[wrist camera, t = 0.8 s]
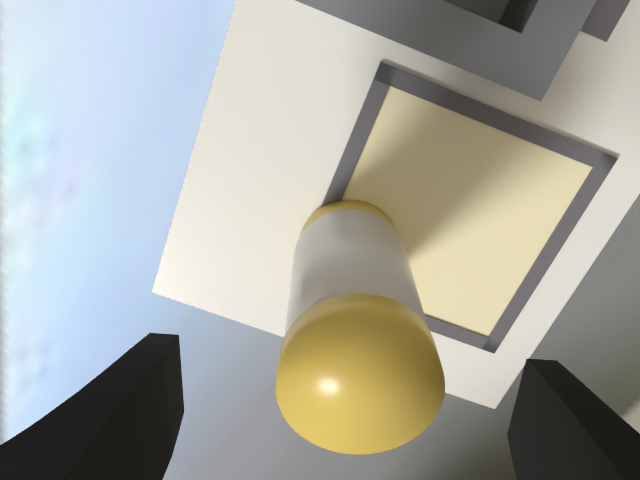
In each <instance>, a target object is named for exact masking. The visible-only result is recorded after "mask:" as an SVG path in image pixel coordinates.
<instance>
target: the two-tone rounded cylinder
mask: <svg viewBox="0 0 640 480" xmlns="http://www.w3.org/2000/svg"><path fill="white" fill-rule="evenodd" d="M444 395H445V376H444V372H443V368H442V365H441V361H440V358H439V355H438V351H437V348H436V345H435V341H434V339H433V336H432V334H431V331H430V330H429V328H428V326H427V322H426V319H425V315H424V312H423V308H422V305H421V302H420V298H419V295H418V291H417V288H416V284H415V281H414V278H413V274H412V271H411V267H410V264H409V260H408V257H407V253H406V250H405V247H404V243H403V241H402V238H401V236H400V235H399V233H398V231H397V230H396V228H395V226H394V224H393V222H392V221H391V219H390V218H389V217H388V216H387V215H386V214H385V213H384V212H383V211H382V210H380V209H379V208H378V207H376V206H374V205H372V204H370V203H367V202H364V201H360V200H339V201H335V202H332V203H329V204H327V205H325V206H323V207H321V208H319V209H318V210H317V211H315V212H314V213H313V214H312V215H311V216H310V217H309V218H308V220H307V221H306V223H305V224H304V226H303V228H302V230H301V233H300V237H299V239H298V242H297V244H296V247H295V251H294V259H293V268H292V276H291V284H290V292H289V301H288V309H287V317H286V325H285V334H284V339H283V341H282V345H281V349H280V356H279V364H278V372H277V380H276V397H277V401H278V405H279V408H280V410H281V413H282V414H283V416H284V418H285V419H286V421H287V422H288V423H289V425H290V426H291V427H292V428H293V429H294V430H295V431H296V432H297V433H298V434H299V435H301V436H302V437H303V438H305V439H306V440H308V441H309V442H311V443H313V444H315V445H317V446H319V447H322V448H324V449H327V450H331V451H334V452H339V453H345V454H372V453H379V452H383V451H387V450H390V449H394V448H396V447H399V446H401V445H403V444H405V443H407V442H409V441H411V440H412V439H414V438H415V437H417V436H418V435H419V434H421V433H422V432H423V431H424V430H425V429H426V428H427V427H428V426H429V425H430V424H431V422H432V421H433V420H434V419H435V417H436V415H437V414H438V412H439V410H440V408H441V405H442V403H443V399H444Z"/></svg>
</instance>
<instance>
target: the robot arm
mask: <svg viewBox="0 0 640 480" xmlns="http://www.w3.org/2000/svg"><path fill="white" fill-rule="evenodd" d="M183 414H184V402H183V388H182V374H181V360H180V346H179V335H172V334H157V333H149V334H148V335H147V336H146V337H144V338H143V339H142V340H141V341H139V342H138V343H137V344H136V345H135V346H133V347H132V348H131V349H130V350H128V351H127V352H126V353H125V354H124V355H122V356H121V357H120V358H119V359H118V360H117V361H115V362H114V363H113V364H112V365H110V366H109V367H108V368H107V369H106V370H104V371H103V372H102V373H101V374H100V375H98V376H97V377H96V378H95V379H93V380H92V381H91V382H90V383H88V384H87V385H86V386H85V387H83V388H82V389H81V390H80V391H78V392H77V393H76V394H74V395H73V396H72V397H70V398H69V399H67V400H66V401H65V402H63V403H62V404H61V405H59V406H58V407H56V408H55V409H54V410H52V411H51V412H50V413H48V414H47V415H46V416H44V417H43V418H41V419H40V420H39V421H37V422H36V423H34V424H33V425H31V426H30V427H28V428H27V429H25V430H24V431H22V432H21V433H19V434H18V435H16V436H15V437H13V438H11V439H10V440H8V441H7V442H5V443H3V444H2V445H0V480H162V479H163V477H164V474H165V472H166V469H167V467H168V464H169V462H170V459H171V457H172V454H173V450H174V447H175V443H176V440H177V436H178V433H179V429H180V425H181V421H182V418H183ZM507 435H508V440H509V445H510V450H511V455H512V460H513V464H514V468H515V473H516V477H517V480H640V434H639V433H638V432H637V431H636V430H634V429H633V428H632V427H631V426H630V425H629V424H628V423H627V422H625V421H624V420H623V419H622V418H621V417H620V416H619V415H617V414H616V413H615V412H614V411H613V410H612V409H611V408H610V407H608V406H607V405H606V404H605V403H604V402H603V401H602V400H601V399H599V398H598V397H597V396H596V395H595V394H594V393H593V392H592V391H591V390H590V389H588V388H587V387H586V386H585V385H584V384H583V383H582V382H581V381H580V380H578V379H577V378H576V377H575V376H574V375H573V374H572V373H571V372H569V371H568V370H567V369H566V368H565V367H564V366H562V365H561V364H560V363H559V362H558V361H554V360H540V359H526V362H525V366H524V370H523V374H522V378H521V382H520V386H519V390H518V394H517V398H516V402H515V406H514V410H513V414H512V418H511V422H510V426H509V430H508V434H507Z"/></svg>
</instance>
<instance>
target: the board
mask: <svg viewBox="0 0 640 480" xmlns="http://www.w3.org/2000/svg"><path fill="white" fill-rule="evenodd" d="M443 1H446V2H448V3H451V4H453V5H455V6H458V7H460V8H462V9H465V10H467V11H469V12H472V13H474V14H476V15H479V16H481V17H483V18H486V19H488V20H491V21H493V22H495V23H499V21H500V18H501V16H502V14H503V12H504V10H505V8H506V6H507V4H508V2H509V0H443ZM639 193H640V0H597V1H596V2H595V4H594V6H593V8H592V10H591V12H590V13H589V15H588V17H587V19H586V21H585V23H584V24H583V26H582V28H581V30H580V32H579V34H578V35H577V37H576V39H575V41H574V43H573V44H572V46H571V48H570V50H569V52H568V54H567V55H566V57H565V59H564V61H563V63H562V65H561V66H560V68H559V70H558V72H557V74H556V76H555V77H554V79H553V81H552V83H551V85H550V87H549V88H548V90H547V92H546V94H545V96H544V98H543V99H542V101H538V100H536V99H533V98H531V97H529V96H526V95H524V94H521V93H519V92H516V91H514V90H512V89H509V88H507V87H504V86H502V85H499V84H497V83H495V82H492V81H490V80H487V79H485V78H482V77H480V76H478V75H475V74H473V73H470V72H468V71H465V70H463V69H461V68H458V67H456V66H453V65H451V64H448V63H446V62H444V61H441V60H439V59H436V58H434V57H431V56H429V55H427V54H424V53H422V52H419V51H417V50H414V49H412V48H410V47H407V46H405V45H402V44H400V43H397V42H395V41H393V40H390V39H388V38H385V37H383V36H380V35H378V34H376V33H373V32H371V31H368V30H366V29H363V28H361V27H359V26H356V25H354V24H351V23H349V22H346V21H344V20H342V19H339V18H337V17H334V16H332V15H329V14H327V13H325V12H322V11H320V10H317V9H315V8H312V7H310V6H308V5H305V4H303V3H300V2H298V1H295V0H236V3H235V6H234V10H233V13H232V16H231V20H230V23H229V27H228V30H227V34H226V37H225V41H224V44H223V48H222V51H221V55H220V58H219V61H218V65H217V68H216V72H215V75H214V79H213V82H212V86H211V89H210V93H209V96H208V100H207V103H206V106H205V110H204V113H203V117H202V120H201V124H200V127H199V131H198V134H197V138H196V141H195V144H194V148H193V151H192V155H191V158H190V162H189V165H188V169H187V172H186V176H185V179H184V183H183V186H182V189H181V193H180V196H179V200H178V203H177V207H176V210H175V214H174V217H173V221H172V224H171V228H170V231H169V234H168V238H167V241H166V245H165V248H164V252H163V255H162V259H161V262H160V266H159V269H158V272H157V276H156V279H155V283H154V286H153V290H152V292H153V293H156V294H159V295H162V296H165V297H168V298H171V299H174V300H177V301H179V302H182V303H185V304H188V305H191V306H194V307H197V308H200V309H203V310H206V311H209V312H212V313H215V314H218V315H220V316H223V317H226V318H229V319H232V320H235V321H238V322H241V323H244V324H247V325H250V326H253V327H256V328H259V329H261V330H264V331H267V332H270V333H273V334H276V335H279V336H282V337H284V334H285V325H286V317H287V309H288V301H289V292H290V284H291V276H292V268H293V259H294V251H295V247H296V244H297V242H298V239H299V237H300V233H301V230H302V228H303V226H304V224H305V223H306V221H307V220H308V218H309V217H310V216H311V215H312V214H313V213H314V212H315V211H317V210H318V209H319V208H321V207H323V206H325V205H327V204H329V203H332V202H335V201H339V200H360V201H364V202H367V203H370V204H372V205H374V206H376V207H378V208H379V209H380V210H382V211H383V212H384V213H385V214H386V215H387V216H388V217H389V218H390V219H391V221H392V222H393V224H394V226H395V228H396V230H397V231H398V233H399V235H400V236H401V238H402V241H403V243H404V247H405V250H406V253H407V257H408V260H409V264H410V267H411V271H412V274H413V278H414V281H415V284H416V288H417V291H418V295H419V298H420V302H421V305H422V308H423V312H424V315H425V319H426V322H427V326H428V328H429V330H430V331H431V334H432V336H433V339H434V341H435V345H436V348H437V351H438V355H439V358H440V361H441V365H442V368H443V372H444V376H445V392H446V393H449V394H452V395H455V396H458V397H460V398H463V399H466V400H469V401H472V402H475V403H478V404H481V405H484V406H487V407H490V408H493V409H495V408H496V407H497V405H498V404H499V402H500V401H501V399H502V398H503V396H504V395H505V393H506V392H507V390H508V389H509V387H510V386H511V384H512V383H513V381H514V380H515V378H516V377H517V375H518V374H519V373H520V371H521V370H522V368H523V367H524V365H525V362H526V359H529V358H530V356H531V355H532V353H533V352H534V350H535V349H536V347H537V346H538V344H539V343H540V341H541V340H542V338H543V337H544V335H545V334H546V332H547V331H548V329H549V328H550V326H551V325H552V323H553V322H554V320H555V319H556V317H557V316H558V314H559V313H560V311H561V310H562V308H563V307H564V305H565V304H566V302H567V301H568V299H569V298H570V296H571V295H572V293H573V292H574V290H575V289H576V287H577V286H578V284H579V283H580V281H581V280H582V278H583V277H584V275H585V274H586V272H587V271H588V270H589V268H590V267H591V265H592V264H593V262H594V261H595V259H596V258H597V256H598V255H599V253H600V252H601V250H602V249H603V247H604V246H605V244H606V243H607V241H608V240H609V238H610V237H611V235H612V234H613V232H614V231H615V229H616V228H617V226H618V225H619V223H620V222H621V220H622V219H623V217H624V216H625V214H626V213H627V211H628V210H629V208H630V207H631V205H632V204H633V202H634V201H635V199H636V198H637V196H638V195H639Z"/></svg>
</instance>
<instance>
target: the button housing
mask: <svg viewBox="0 0 640 480" xmlns="http://www.w3.org/2000/svg"><path fill="white" fill-rule="evenodd" d="M295 1H298V2H300V3H303V4H305V5H308V6H310V7H312V8H315V9H317V10H320V11H322V12H325V13H327V14H329V15H332V16H334V17H337V18H339V19H342V20H344V21H346V22H349V23H351V24H354V25H356V26H359V27H361V28H363V29H366V30H368V31H371V32H373V33H376V34H378V35H380V36H383V37H385V38H388V39H390V40H393V41H395V42H397V43H400V44H402V45H405V46H407V47H410V48H412V49H414V50H417V51H419V52H422V53H424V54H427V55H429V56H431V57H434V58H436V59H439V60H441V61H444V62H446V63H448V64H451V65H453V66H456V67H458V68H461V69H463V70H465V71H468V72H470V73H473V74H475V75H478V76H480V77H482V78H485V79H487V80H490V81H492V82H495V83H497V84H499V85H502V86H504V87H507V88H509V89H512V90H514V91H516V92H519V93H521V94H524V95H526V96H529V97H531V98H533V99H536V100H538V101H542V99H543V98H544V96H545V94H546V92H547V90H548V88H549V87H550V85H551V83H552V81H553V79H554V77H555V76H556V74H557V72H558V70H559V68H560V66H561V65H562V63H563V61H564V59H565V57H566V55H567V54H568V52H569V50H570V48H571V46H572V44H573V43H574V41H575V39H576V37H577V35H578V34H579V32H580V30H581V28H582V26H583V24H584V23H585V21H586V19H587V17H588V15H589V13H590V12H591V10H592V8H593V6H594V4H595V2H596V1H597V0H509V2H508V4H507V6H506V8H505V10H504V12H503V14H502V16H501V18H500V21H499V23H495V22H493V21H491V20H488V19H486V18H483V17H481V16H479V15H476V14H474V13H472V12H469V11H467V10H465V9H462V8H460V7H458V6H455V5H453V4H451V3H448V2H446V1H443V0H295Z"/></svg>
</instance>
